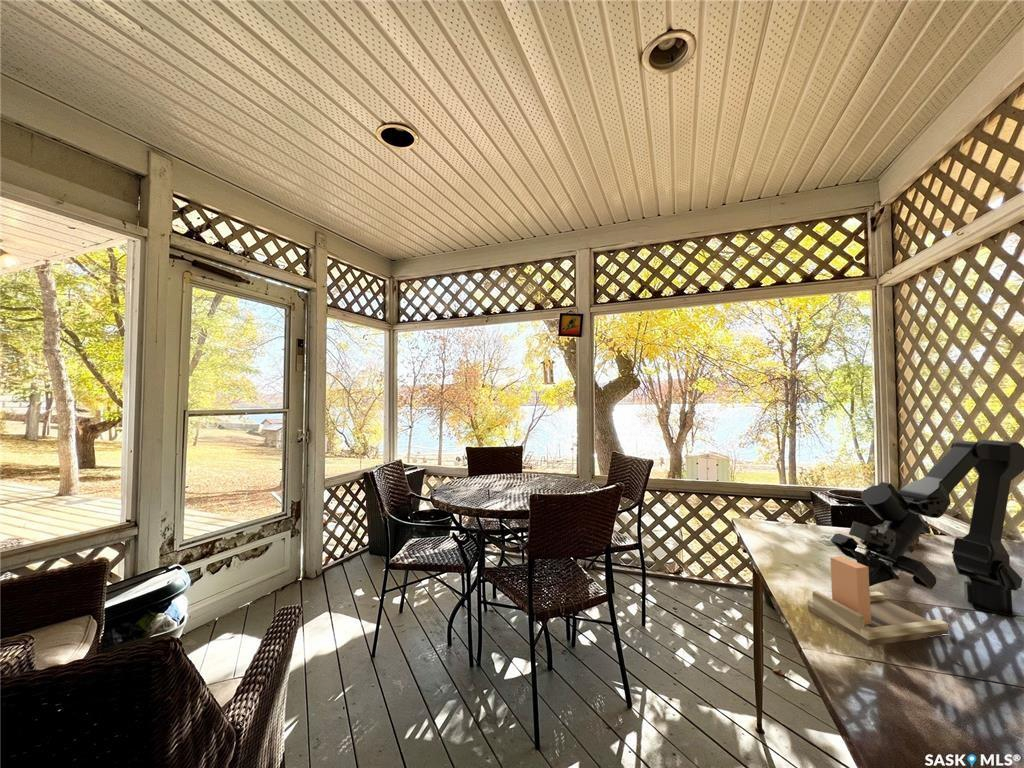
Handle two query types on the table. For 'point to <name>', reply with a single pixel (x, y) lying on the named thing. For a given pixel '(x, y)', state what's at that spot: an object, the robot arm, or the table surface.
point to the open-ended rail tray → (876, 620)
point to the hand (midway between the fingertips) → (856, 587)
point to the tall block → (851, 585)
